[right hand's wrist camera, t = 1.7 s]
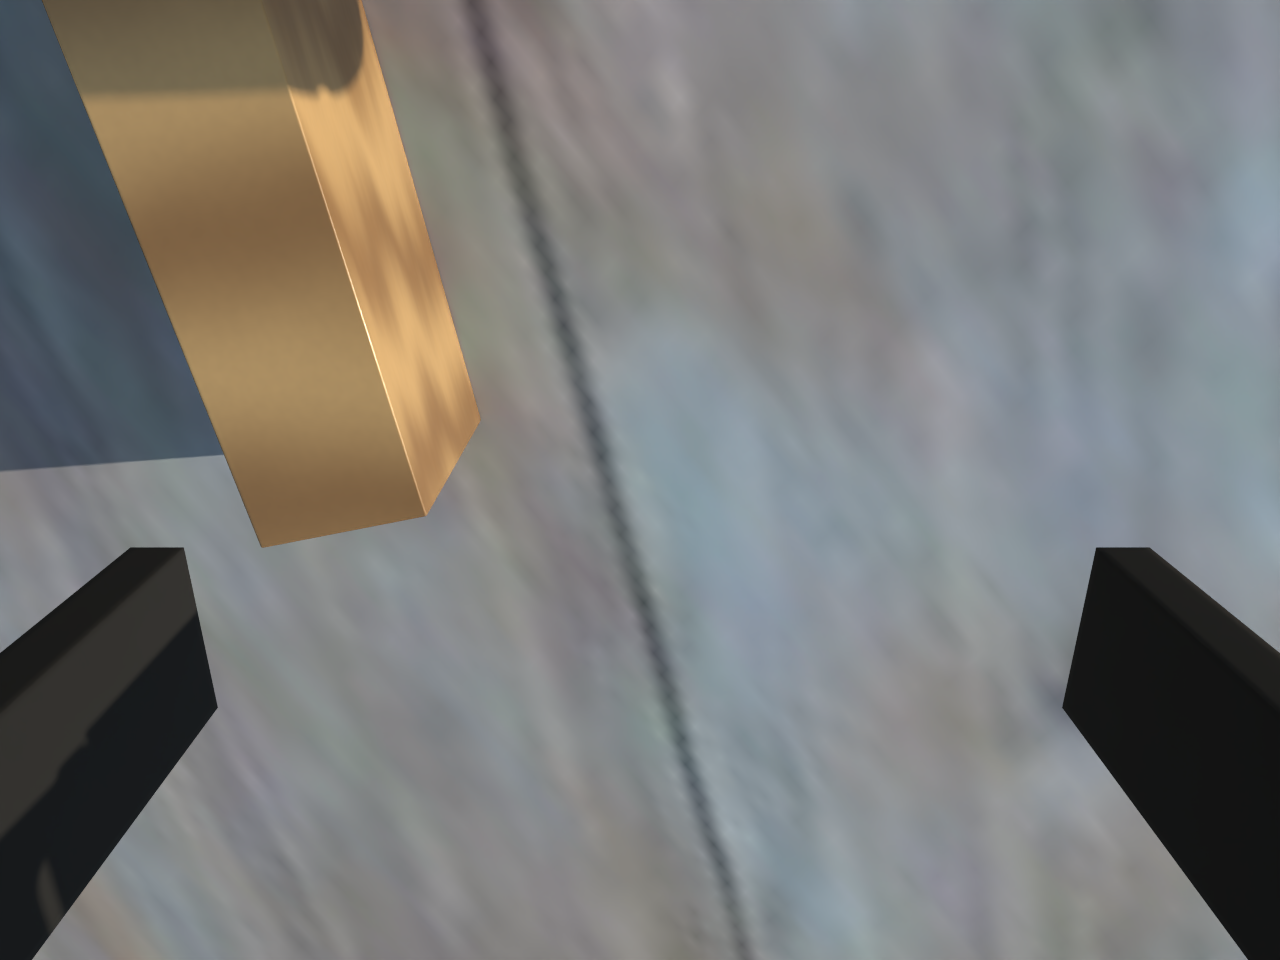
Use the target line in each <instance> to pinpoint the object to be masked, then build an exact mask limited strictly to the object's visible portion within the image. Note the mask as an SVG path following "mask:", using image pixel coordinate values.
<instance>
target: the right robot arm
mask: <svg viewBox="0 0 1280 960" xmlns="http://www.w3.org/2000/svg"><path fill="white" fill-rule="evenodd" d="M217 708H218V707H217V702H216V697H215V693H214V688H213V683H212V678H211V674H210V669H209V664H208V660H207V655H206V650H205V645H204V641H203V636H202V631H201V627H200V622H199V617H198V612H197V608H196V603H195V598H194V594H193V589H192V584H191V579H190V575H189V570H188V565H187V561H186V556H185V551H184V548H129V549H128V550H127V551H126V552H124V553H123V554H122V555H121V556H119V557H118V558H117V559H116V560H115V561H113V562H112V563H111V564H110V565H108V566H107V567H106V568H105V569H103V570H102V571H101V572H100V573H98V574H97V575H96V576H95V577H94V578H92V579H91V580H90V581H89V582H87V583H86V584H85V585H84V586H82V587H81V588H80V589H79V590H78V591H76V592H75V593H74V594H73V595H71V596H70V597H69V598H68V599H66V600H65V601H64V602H63V603H61V604H60V605H59V606H58V607H57V608H55V609H54V610H53V611H52V612H50V613H49V614H48V615H47V616H45V617H44V618H43V619H42V620H40V621H39V622H38V623H37V624H36V625H34V626H33V627H32V628H31V629H29V630H28V631H27V632H26V633H24V634H23V635H22V636H21V637H20V638H18V639H17V640H16V641H15V642H13V643H12V644H11V645H10V646H8V647H7V648H6V649H5V650H3V651H2V652H1V653H0V960H32V959H33V957H34V956H35V955H36V953H37V952H38V951H39V949H40V948H41V947H42V945H43V944H44V943H45V941H46V940H47V938H48V937H49V936H50V934H51V933H52V932H53V930H54V929H55V928H56V926H57V925H58V924H59V922H60V921H61V919H62V918H63V917H64V915H65V914H66V913H67V911H68V910H69V909H70V907H71V906H72V905H73V903H74V902H75V900H76V899H77V898H78V896H79V895H80V894H81V892H82V891H83V890H84V888H85V887H86V886H87V884H88V883H89V881H90V880H91V879H92V877H93V876H94V875H95V873H96V872H97V871H98V869H99V868H100V867H101V865H102V864H103V862H104V861H105V860H106V858H107V857H108V856H109V854H110V853H111V852H112V850H113V849H114V848H115V846H116V845H117V843H118V842H119V841H120V839H121V838H122V837H123V835H124V834H125V833H126V831H127V830H128V829H129V827H130V826H131V825H132V823H133V822H134V820H135V819H136V818H137V816H138V815H139V814H140V812H141V811H142V810H143V808H144V807H145V806H146V804H147V803H148V801H149V800H150V799H151V797H152V796H153V795H154V793H155V792H156V791H157V789H158V788H159V787H160V785H161V784H162V782H163V781H164V780H165V778H166V777H167V776H168V774H169V773H170V772H171V770H172V769H173V768H174V766H175V765H176V763H177V762H178V761H179V759H180V758H181V757H182V755H183V754H184V753H185V751H186V750H187V749H188V747H189V746H190V744H191V743H192V742H193V740H194V739H195V738H196V736H197V735H198V734H199V732H200V731H201V730H202V728H203V727H204V725H205V724H206V723H207V721H208V720H209V719H210V717H211V716H212V715H213V713H214V712H215V711H216V709H217ZM1062 708H1063V709H1064V711H1065V712H1066V713H1067V715H1068V716H1069V717H1070V719H1071V720H1072V721H1073V723H1074V724H1075V725H1076V727H1077V728H1078V730H1079V731H1080V732H1081V734H1082V735H1083V736H1084V738H1085V739H1086V740H1087V742H1088V743H1089V744H1090V746H1091V747H1092V749H1093V750H1094V751H1095V753H1096V754H1097V755H1098V757H1099V758H1100V759H1101V761H1102V762H1103V763H1104V765H1105V766H1106V768H1107V769H1108V770H1109V772H1110V773H1111V774H1112V776H1113V777H1114V778H1115V780H1116V781H1117V782H1118V784H1119V785H1120V787H1121V788H1122V789H1123V791H1124V792H1125V793H1126V795H1127V796H1128V797H1129V799H1130V800H1131V801H1132V803H1133V804H1134V806H1135V807H1136V808H1137V810H1138V811H1139V812H1140V814H1141V815H1142V816H1143V818H1144V819H1145V820H1146V822H1147V823H1148V825H1149V826H1150V827H1151V829H1152V830H1153V831H1154V833H1155V834H1156V835H1157V837H1158V838H1159V839H1160V841H1161V842H1162V844H1163V845H1164V846H1165V848H1166V849H1167V850H1168V852H1169V853H1170V854H1171V856H1172V857H1173V858H1174V860H1175V861H1176V862H1177V864H1178V865H1179V867H1180V868H1181V869H1182V871H1183V872H1184V873H1185V875H1186V876H1187V877H1188V879H1189V880H1190V881H1191V883H1192V884H1193V886H1194V887H1195V888H1196V890H1197V891H1198V892H1199V894H1200V895H1201V896H1202V898H1203V899H1204V900H1205V902H1206V903H1207V905H1208V906H1209V907H1210V909H1211V910H1212V911H1213V913H1214V914H1215V915H1216V917H1217V918H1218V919H1219V921H1220V922H1221V924H1222V925H1223V926H1224V928H1225V929H1226V930H1227V932H1228V933H1229V934H1230V936H1231V937H1232V938H1233V940H1234V941H1235V943H1236V944H1237V945H1238V947H1239V948H1240V949H1241V951H1242V952H1243V953H1244V955H1245V956H1246V957H1247V959H1248V960H1280V653H1279V652H1278V651H1277V650H1275V649H1274V648H1273V647H1272V646H1270V645H1269V644H1268V643H1267V642H1265V641H1264V640H1263V639H1262V638H1260V637H1259V636H1258V635H1257V634H1256V633H1254V632H1253V631H1252V630H1251V629H1249V628H1248V627H1247V626H1246V625H1244V624H1243V623H1242V622H1241V621H1239V620H1238V619H1237V618H1236V617H1235V616H1233V615H1232V614H1231V613H1230V612H1228V611H1227V610H1226V609H1225V608H1223V607H1222V606H1221V605H1220V604H1219V603H1217V602H1216V601H1215V600H1214V599H1212V598H1211V597H1210V596H1209V595H1207V594H1206V593H1205V592H1204V591H1202V590H1201V589H1200V588H1199V587H1198V586H1196V585H1195V584H1194V583H1193V582H1191V581H1190V580H1189V579H1188V578H1186V577H1185V576H1184V575H1183V574H1182V573H1180V572H1179V571H1178V570H1177V569H1175V568H1174V567H1173V566H1172V565H1170V564H1169V563H1168V562H1167V561H1165V560H1164V559H1163V558H1162V557H1161V556H1159V555H1158V554H1157V553H1156V552H1154V551H1153V550H1152V549H1151V548H1096V551H1095V556H1094V561H1093V565H1092V570H1091V575H1090V579H1089V584H1088V589H1087V594H1086V598H1085V603H1084V608H1083V612H1082V617H1081V622H1080V627H1079V631H1078V636H1077V641H1076V645H1075V650H1074V655H1073V660H1072V664H1071V669H1070V674H1069V678H1068V683H1067V688H1066V693H1065V697H1064V702H1063V707H1062Z"/></svg>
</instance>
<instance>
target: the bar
mask: <svg viewBox="0 0 1280 960" xmlns="http://www.w3.org/2000/svg"><path fill="white" fill-rule="evenodd" d="M42 2H43V4H44V7H45V9H46V12H47V14H48V17H49V19H50V22H51V24H52V27H53V29H54V32H55V34H56V37H57V39H58V42H59V44H60V47H61V49H62V52H63V54H64V57H65V59H66V62H67V64H68V67H69V69H70V72H71V74H72V77H73V79H74V82H75V84H76V87H77V89H78V92H79V94H80V97H81V99H82V102H83V104H84V107H85V109H86V112H87V114H88V117H89V119H90V122H91V124H92V127H93V129H94V132H95V134H96V137H97V139H98V142H99V144H100V147H101V149H102V152H103V154H104V156H105V159H106V161H107V164H108V166H109V169H110V171H111V174H112V176H113V179H114V181H115V184H116V186H117V189H118V191H119V194H120V196H121V199H122V201H123V204H124V206H125V209H126V211H127V214H128V216H129V219H130V221H131V224H132V226H133V229H134V231H135V234H136V236H137V239H138V241H139V244H140V246H141V249H142V251H143V254H144V256H145V259H146V261H147V264H148V266H149V269H150V271H151V274H152V276H153V279H154V281H155V284H156V286H157V289H158V291H159V294H160V296H161V299H162V301H163V304H164V306H165V309H166V311H167V314H168V316H169V319H170V321H171V324H172V326H173V329H174V331H175V334H176V336H177V338H178V341H179V343H180V346H181V348H182V351H183V353H184V356H185V358H186V361H187V363H188V366H189V368H190V371H191V373H192V376H193V378H194V381H195V383H196V386H197V388H198V391H199V393H200V396H201V398H202V401H203V403H204V406H205V408H206V411H207V413H208V416H209V418H210V421H211V423H212V426H213V428H214V431H215V433H216V436H217V438H218V441H219V443H220V446H221V448H222V451H223V453H224V456H225V458H226V461H227V463H228V466H229V468H230V471H231V473H232V476H233V478H234V481H235V483H236V486H237V488H238V491H239V493H240V496H241V498H242V501H243V503H244V506H245V508H246V511H247V513H248V515H249V518H250V520H251V523H252V525H253V528H254V530H255V533H256V535H257V538H258V540H259V543H260V545H261V547H262V548H264V547H269V546H274V545H279V544H285V543H290V542H295V541H300V540H305V539H310V538H315V537H321V536H326V535H331V534H336V533H341V532H346V531H351V530H357V529H362V528H367V527H372V526H377V525H382V524H387V523H393V522H398V521H403V520H408V519H413V518H418V517H423V516H426V515H427V514H428V512H429V510H430V509H431V507H432V505H433V503H434V502H435V500H436V498H437V496H438V495H439V493H440V491H441V489H442V487H443V486H444V484H445V482H446V480H447V479H448V477H449V475H450V473H451V472H452V470H453V468H454V466H455V465H456V463H457V461H458V459H459V458H460V456H461V454H462V452H463V450H464V449H465V447H466V445H467V443H468V442H469V440H470V438H471V436H472V435H473V433H474V431H475V429H476V428H477V426H478V424H479V422H480V420H481V419H480V415H479V412H478V408H477V405H476V401H475V398H474V394H473V391H472V387H471V384H470V380H469V377H468V373H467V370H466V366H465V363H464V359H463V356H462V352H461V349H460V345H459V342H458V338H457V335H456V331H455V328H454V324H453V321H452V317H451V313H450V310H449V306H448V303H447V299H446V296H445V292H444V289H443V285H442V282H441V278H440V275H439V271H438V268H437V264H436V261H435V257H434V254H433V250H432V247H431V243H430V240H429V236H428V233H427V229H426V226H425V222H424V219H423V215H422V212H421V208H420V205H419V201H418V198H417V194H416V191H415V187H414V184H413V180H412V177H411V173H410V170H409V166H408V163H407V159H406V155H405V152H404V148H403V145H402V141H401V138H400V134H399V131H398V127H397V124H396V120H395V117H394V113H393V110H392V106H391V103H390V99H389V96H388V92H387V89H386V85H385V82H384V78H383V75H382V71H381V68H380V64H379V61H378V57H377V54H376V50H375V47H374V43H373V40H372V36H371V33H370V29H369V26H368V22H367V19H366V15H365V12H364V8H363V5H362V1H361V0H42Z"/></svg>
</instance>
